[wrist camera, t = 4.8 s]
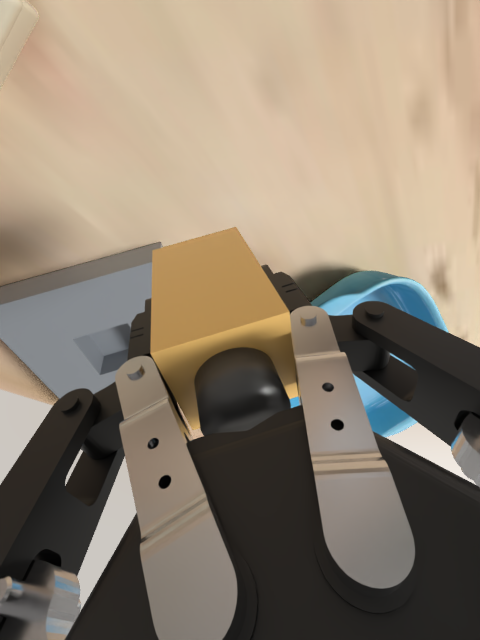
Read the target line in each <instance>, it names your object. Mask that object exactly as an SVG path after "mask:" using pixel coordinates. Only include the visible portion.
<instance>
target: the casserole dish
mask: <svg viewBox="0 0 480 640" xmlns="http://www.w3.org/2000/svg"><path fill="white" fill-rule="evenodd" d="M366 301H380V302H384V303H387V304H389V305H391V306H393V307H395V308H397V309H400V310H402V311H404V312H406V313H408V314H410V315H412V316H414V317H416V318H419V319H421V320H423V321H425V322H427V323H429V324H431V325H433V326H435V327H437V328H440V329H442V330H444V331H446V332H448V330H447V328H446V325H445V323H444V321H443V319H442V317H441V315H440V312H439V310H438V308H437V306H436V305H435V303H434V300H433V299H432V297H431V296H430V294H429V293H428V292H427V290H426V289H425V288H424V287H423V286H422V285H420V284H419V283H418V282H416V281H414V280H412V279H409V278H405V277H398V276H395V275H391V274H387V273H383V272H378V271H361V272H357V273H354V274H351V275H349V276H347V277H345V278H343V279H342V280H340V281H339V282H337V283H336V284H334V285H333V286H331V287H330V288H329V289H327V290H326V291H325V292H323V293H322V294H321V295H319V296H318V297H317V298H315V299H314V300H313V301H312V302H310V303H311V304H312V306H316V307H320V308H322V309H324V310H325V311H326V312H327V314H328V315H334V316H338V315H352V314H353V309H354V308H355V306H357V305H358V304H360V303H362V302H366ZM448 333H449V332H448ZM390 355H391V356H393V357H395V358H396V359H398V360H400V361H401V362H403V363H404V364H406V365H408V366H409V367H411V368H413V367H412V366H411V365H409V364H408V363H406V362H404V361H403V360H401V359H400V358H398V357H396V356H395V355H393V354H391V353H390ZM413 369H414V368H413ZM414 370H415V369H414ZM353 376H354V379H355V382H356V385H357V388H358V391H359V393H360V396H361V399H362V402H363V405H364V408H365V411H366V414H367V417H368V420H369V423H370V426H371V428H372V431H374V432H376V433H377V434H379V435H381V436H383V437H387V436H390V435H394V434H397V433H399V432H401V431H403V430H405V429H407V428H409V427H410V426H412V425H414V424H415V423H417V421H416V420H414V419H413V418H412V417H410V416H409V415H408V414H406V413H405V412H404V411H402V410H401V409H400V408H398V407H397V406H396V405H394V404H393V403H391V402H390V401H389V400H387V399H386V398H385V397H383V396H382V395H381V394H379V393H378V392H377V391H375V390H374V389H373V388H371V387H370V386H369V385H367V384H366V383H365V382H363V381H362V380H360V379H359V378H358V377H356V376H355V375H354V374H353ZM290 403H291V408H293V407H296V406H299V405H300V404H299V398H298V397H295V398H292V399H290Z"/></svg>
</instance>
